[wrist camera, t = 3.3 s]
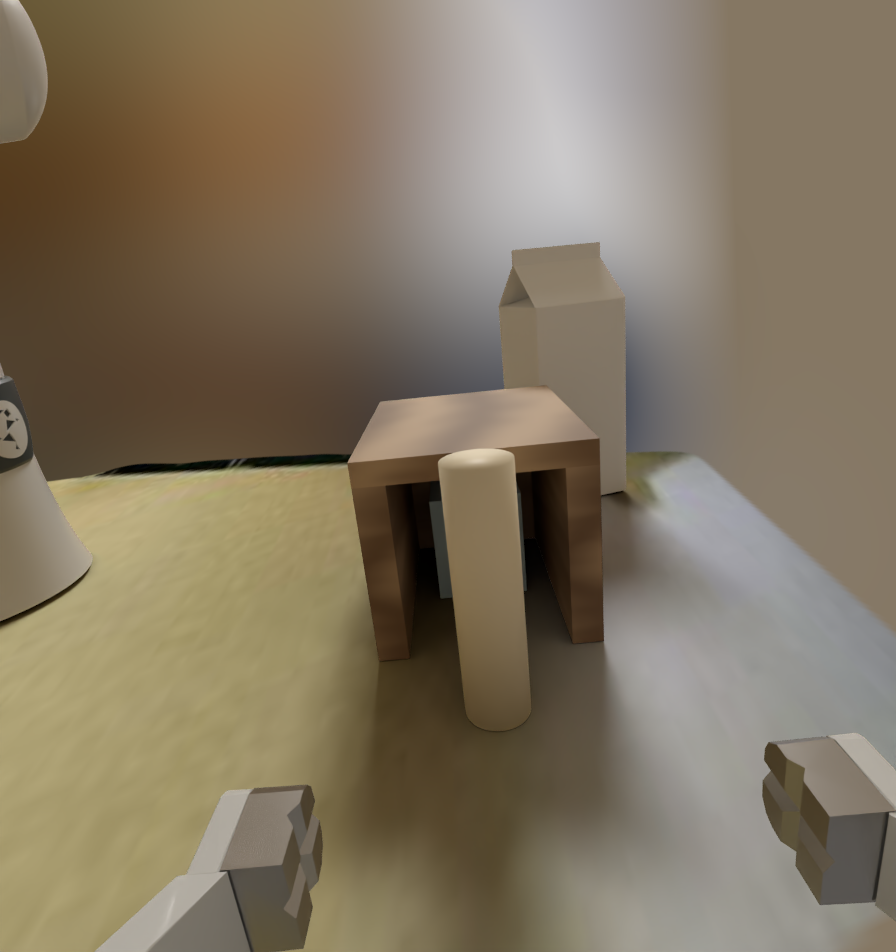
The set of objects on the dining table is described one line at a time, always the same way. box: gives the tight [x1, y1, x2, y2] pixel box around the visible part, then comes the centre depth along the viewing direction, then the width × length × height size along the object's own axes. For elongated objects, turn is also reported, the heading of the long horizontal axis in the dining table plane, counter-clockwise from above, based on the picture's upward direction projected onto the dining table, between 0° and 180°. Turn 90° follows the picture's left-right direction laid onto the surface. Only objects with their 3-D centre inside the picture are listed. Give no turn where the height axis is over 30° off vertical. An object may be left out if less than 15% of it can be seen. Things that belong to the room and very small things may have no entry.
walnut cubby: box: [347, 385, 604, 661], centre depth 34 cm, size 11×14×10 cm
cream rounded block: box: [429, 449, 532, 731], centre depth 29 cm, size 5×16×11 cm, turn 0°
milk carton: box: [499, 242, 626, 495], centre depth 46 cm, size 7×7×19 cm
